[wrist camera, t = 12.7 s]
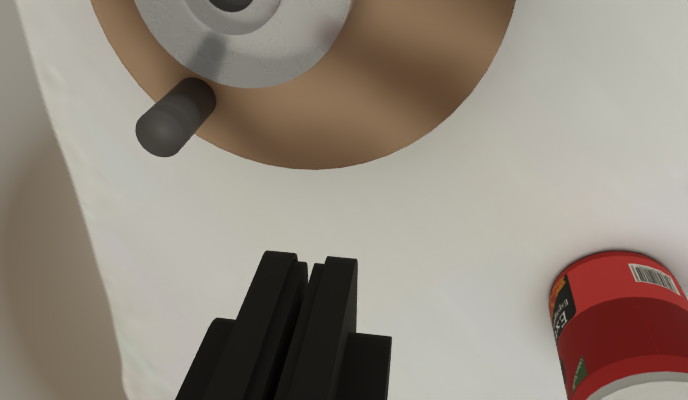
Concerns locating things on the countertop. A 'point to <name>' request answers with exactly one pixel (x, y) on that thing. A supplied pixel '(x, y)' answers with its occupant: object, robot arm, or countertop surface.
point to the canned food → (620, 329)
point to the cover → (246, 36)
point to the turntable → (321, 84)
